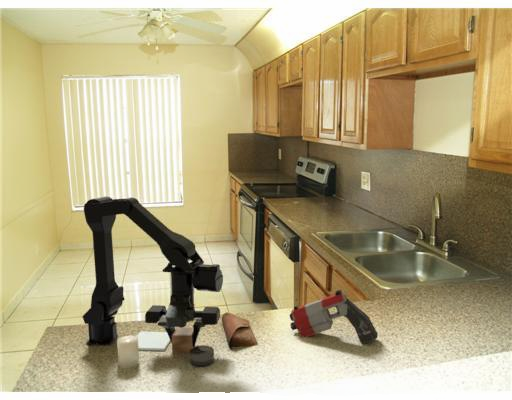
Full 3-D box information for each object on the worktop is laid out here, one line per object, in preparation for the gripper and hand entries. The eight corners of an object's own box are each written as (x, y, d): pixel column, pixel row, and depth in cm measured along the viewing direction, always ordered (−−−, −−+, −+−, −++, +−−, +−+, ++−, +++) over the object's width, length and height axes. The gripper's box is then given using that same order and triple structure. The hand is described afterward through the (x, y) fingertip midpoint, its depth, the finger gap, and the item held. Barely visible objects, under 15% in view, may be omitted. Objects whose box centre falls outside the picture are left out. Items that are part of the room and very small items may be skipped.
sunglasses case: (260, 345, 120) (247, 326, 118) (238, 360, 119) (225, 341, 118) (248, 319, 137) (237, 302, 136) (229, 332, 137) (217, 315, 135)
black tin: (187, 367, 109) (186, 356, 108) (192, 356, 115) (192, 344, 114) (211, 368, 108) (211, 356, 108) (215, 356, 114) (215, 345, 114)
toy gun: (308, 354, 131) (286, 307, 131) (377, 331, 124) (355, 282, 124) (304, 362, 126) (282, 313, 126) (377, 339, 119) (353, 288, 119)
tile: (127, 349, 118) (127, 347, 118) (140, 333, 128) (140, 331, 128) (164, 350, 117) (164, 348, 117) (174, 334, 127) (174, 332, 127)
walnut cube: (172, 353, 115) (171, 335, 115) (177, 345, 120) (176, 327, 120) (191, 354, 115) (190, 335, 114) (195, 345, 120) (195, 328, 119)
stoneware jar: (115, 367, 109) (113, 344, 108) (122, 357, 114) (121, 335, 113) (135, 368, 108) (134, 344, 107) (142, 358, 113) (141, 335, 112)
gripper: (136, 298, 108) (138, 359, 110) (212, 300, 107) (213, 362, 109) (150, 284, 119) (153, 339, 121) (220, 285, 118) (220, 341, 120)
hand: (184, 345), depth 118 cm, fingers closed on walnut cube, 5 cm apart
